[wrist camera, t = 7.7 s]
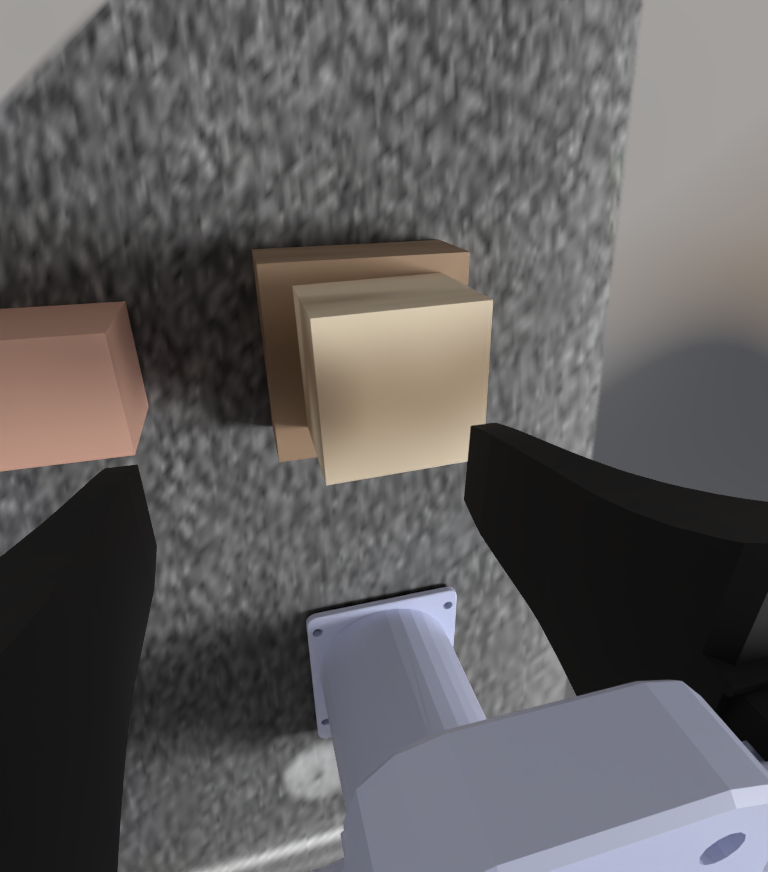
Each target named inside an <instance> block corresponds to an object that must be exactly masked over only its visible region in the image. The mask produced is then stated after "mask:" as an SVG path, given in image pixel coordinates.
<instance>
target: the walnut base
mask: <svg viewBox="0 0 768 872" xmlns="http://www.w3.org/2000/svg"><path fill="white" fill-rule="evenodd" d="M252 257H253V266H254V274H255V283H256V291H257V300H258V308H259V316H260V325H261V333H262V342H263V350H264V359H265V367H266V376H267V384H268V392H269V401H270V409H271V418H272V426H273V432H274V437H275V442H276V447H277V453H278V458H279V462H285V461H292V460H299V459H306V458H314V457H317V454H316V451H315V448H314V445H313V442H312V439H311V436H310V432H309V429H308V425H307V416H306V406H305V397H304V388H303V379H302V370H301V361H300V352H299V343H298V334H297V325H296V316H295V306H294V297H293V288H292V286H295V285H306V284H318V283H329V282H340V281H351V280H363V279H374V278H385V277H396V276H407V275H419V274H430V273H441V272H442V273H444V274H446V275H447V276H449V277H451V278H453V279H455V280H457V281H459V282H461V283H462V284H464V285H466V286H468V275H469V258H470V252H469V251H466V250H464V249H461V248H459V247H456V246H453V245H451V244H448V243H446V242H443V241H441V240H425V241H405V242H386V243H366V244H346V245H327V246H307V247H287V248H267V249H252Z"/></svg>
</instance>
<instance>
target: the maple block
mask: <svg viewBox="0 0 768 872" xmlns="http://www.w3.org/2000/svg"><path fill="white" fill-rule="evenodd" d="M292 288H293V297H294V306H295V316H296V325H297V334H298V343H299V352H300V361H301V370H302V379H303V388H304V397H305V406H306V416H307V425H308V429H309V432H310V436H311V439H312V442H313V445H314V448H315V451H316V454H317V457H318V461H319V464H320V467H321V470H322V473H323V476H324V479H325V482H326V485H331V484H337V483H343V482H349V481H355V480H361V479H367V478H372V477H378V476H384V475H390V474H396V473H402V472H408V471H414V470H420V469H425V468H431V467H437V466H443V465H449V464H455V463H461V462H467V461H468V451H469V440H470V428H471V426H472V425H481V424H485V422H486V406H487V390H488V374H489V358H490V341H491V325H492V309H493V300H492V299H490V298H489V297H487V296H485V295H483V294H481V293H479V292H477V291H475V290H474V289H472V288H470V287H468V286H466V285H464V284H462V283H461V282H459V281H457V280H455V279H453V278H451V277H449V276H447V275H446V274H444V273H442V272H441V273H430V274H419V275H407V276H396V277H385V278H374V279H363V280H351V281H340V282H329V283H318V284H306V285H295V286H292Z"/></svg>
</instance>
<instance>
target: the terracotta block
mask: <svg viewBox="0 0 768 872" xmlns="http://www.w3.org/2000/svg"><path fill="white" fill-rule="evenodd" d="M148 407H149V406H148V401H147V397H146V392H145V388H144V383H143V379H142V374H141V370H140V365H139V361H138V356H137V352H136V347H135V343H134V338H133V334H132V329H131V325H130V320H129V316H128V312H127V307H126V303H125V301H123V302H107V303H90V304H74V305H57V306H41V307H24V308H7V309H0V471H8V470H16V469H24V468H32V467H41V466H49V465H57V464H65V463H73V462H82V461H90V460H98V459H106V458H114V457H122V456H131V455H135V453H136V449H137V446H138V442H139V439H140V435H141V432H142V428H143V425H144V421H145V417H146V414H147V410H148Z"/></svg>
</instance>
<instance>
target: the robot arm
mask: <svg viewBox="0 0 768 872" xmlns="http://www.w3.org/2000/svg"><path fill="white" fill-rule="evenodd" d="M464 501H465V503H466V505H467V507H468V509H469V512H470V514H471V516H472V518H473V520H474V522H475V524H476V526H477V528H478V530H479V532H480V534H481V536H482V537H483V539H484V540H485V542H486V543H487V545H488V546H489V548H490V549H491V551H492V552H493V554H494V555H495V557H496V558H497V560H498V561H499V563H500V564H501V566H502V567H503V569H504V570H505V572H506V573H507V575H508V576H509V578H510V579H511V580H512V582H513V583H514V585H515V586H516V588H517V589H518V591H519V592H520V594H521V595H522V597H523V598H524V599H525V601H526V602H527V604H528V605H529V607H530V609H531V610H532V612H533V613H534V615H535V617H536V618H537V620H538V622H539V623H540V625H541V627H542V629H543V631H544V633H545V635H546V636H547V638H548V640H549V642H550V644H551V646H552V648H553V650H554V652H555V653H556V655H557V657H558V659H559V661H560V663H561V665H562V667H563V669H564V671H565V673H566V675H567V677H568V679H569V681H570V683H571V685H572V687H573V689H574V691H575V693H576V695H577V696H576V697H572V698H568V699H564V700H560V701H556V702H552V703H548V704H545V705H541V706H537V707H533V708H529V709H525V710H521V711H517V712H513V713H509V714H505V715H501V716H497V717H494V718H490V719H486V717H485V715H484V713H483V711H482V709H481V706H480V704H479V702H478V700H477V698H476V696H475V694H474V692H473V690H472V687H471V685H470V683H469V681H468V679H467V677H466V675H465V673H464V670H463V668H462V666H461V664H460V662H459V660H458V658H457V656H456V653H455V651H454V649H453V644H454V630H455V615H456V600H457V594H456V592H455V590H454V589H453V588H452V587H443V588H438V589H433V590H428V591H423V592H418V593H413V594H408V595H403V596H399V597H394V598H389V599H384V600H379V601H374V602H369V603H364V604H359V605H354V606H349V607H344V608H340V609H335V610H330V611H325V612H320V613H315V614H312V615H311V616H309V617H308V618H307V620H306V626H307V636H308V645H309V654H310V664H311V673H312V683H313V692H314V701H315V711H316V720H317V730H318V735H319V737H321V738H330V737H332V741H333V746H334V751H335V756H336V762H337V767H338V772H339V777H340V783H341V788H342V793H343V798H344V803H345V809H346V814H347V815H346V818H345V821H344V831H343V832H342V833H341V840H342V845H343V851H344V858H342V859H340V860H338V861H336V862H334V863H332V864H330V865H328V866H326V867H323V868H320V869H316V870H313V871H310V872H768V502H764V501H757V500H750V499H742V498H737V497H730V496H725V495H718V494H713V493H708V492H704V491H699V490H694V489H689V488H684V487H680V486H675V485H671V484H667V483H663V482H659V481H656V480H652V479H649V478H645V477H642V476H638V475H635V474H631V473H628V472H625V471H622V470H618V469H616V468H612V467H610V466H607V465H604V464H601V463H599V462H596V461H593V460H590V459H588V458H585V457H583V456H580V455H577V454H575V453H572V452H570V451H567V450H565V449H562V448H560V447H558V446H555V445H553V444H550V443H548V442H545V441H543V440H541V439H538V438H536V437H533V436H531V435H529V434H526V433H524V432H521V431H519V430H516V429H513V428H511V427H508V426H505V425H501V424H498V423H489V424H481V425H472V426H471V428H470V440H469V451H468V462H467V473H466V484H465V495H464ZM156 550H157V545H156V541H155V537H154V532H153V528H152V524H151V520H150V515H149V511H148V507H147V503H146V498H145V494H144V490H143V485H142V481H141V477H140V473H139V468H138V465H131V466H122V467H114V468H105V469H104V470H102V471H101V472H100V473H98V474H97V475H96V476H95V477H94V478H93V479H92V480H90V481H89V482H88V483H87V484H86V485H85V486H84V487H83V488H82V489H80V490H79V491H78V492H77V493H76V494H75V495H74V496H73V497H72V498H71V499H69V500H68V501H67V502H66V503H65V504H64V505H63V506H62V507H60V508H59V509H58V510H57V511H56V512H55V513H54V514H53V515H51V516H50V517H49V518H48V519H47V520H46V521H45V522H43V523H42V524H41V525H40V526H38V527H37V528H36V529H35V530H33V531H32V532H31V533H30V534H29V535H27V536H26V537H25V538H24V539H22V540H21V541H20V542H19V543H17V544H16V545H15V546H14V547H12V548H11V549H10V550H9V551H7V552H6V553H5V554H4V555H2V556H1V557H0V872H117V867H118V851H119V835H120V819H121V806H122V793H123V781H124V768H125V757H126V746H127V736H128V725H129V715H130V707H131V701H132V695H133V688H134V683H135V679H136V674H137V669H138V664H139V660H140V655H141V650H142V645H143V641H144V636H145V631H146V626H147V622H148V617H149V612H150V607H151V602H152V597H153V592H154V584H155V570H156ZM446 602H448V603H446ZM445 603H446V604H445ZM317 629H320V630H318V631H314V630H317Z"/></svg>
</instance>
